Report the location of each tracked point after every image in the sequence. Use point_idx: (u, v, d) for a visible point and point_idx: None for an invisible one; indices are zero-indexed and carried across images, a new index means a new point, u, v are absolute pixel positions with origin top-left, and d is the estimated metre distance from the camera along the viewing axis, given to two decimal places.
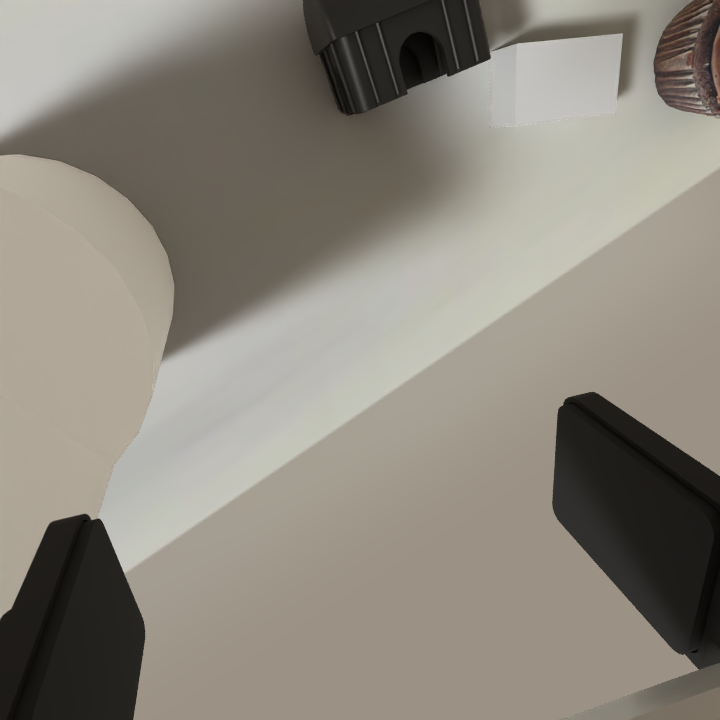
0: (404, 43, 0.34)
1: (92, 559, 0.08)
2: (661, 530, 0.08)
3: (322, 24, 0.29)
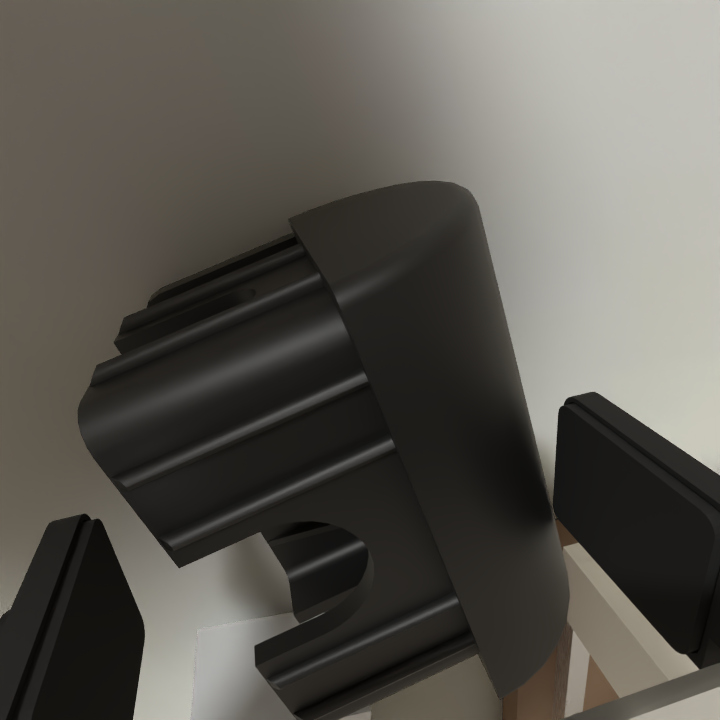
0: None
1: (92, 559, 0.08)
2: (662, 530, 0.08)
3: (383, 244, 0.07)
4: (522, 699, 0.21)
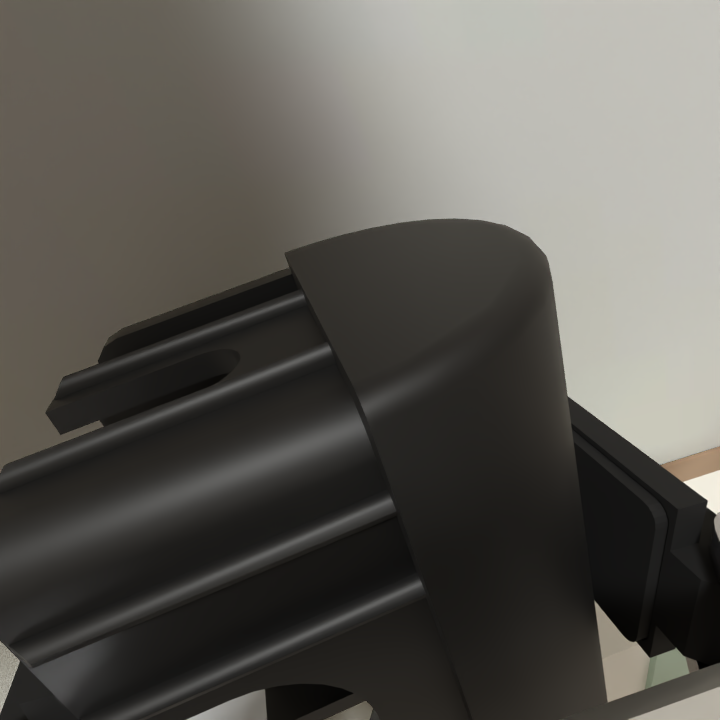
0: None
1: None
2: (611, 521, 0.09)
3: (428, 319, 0.05)
4: None
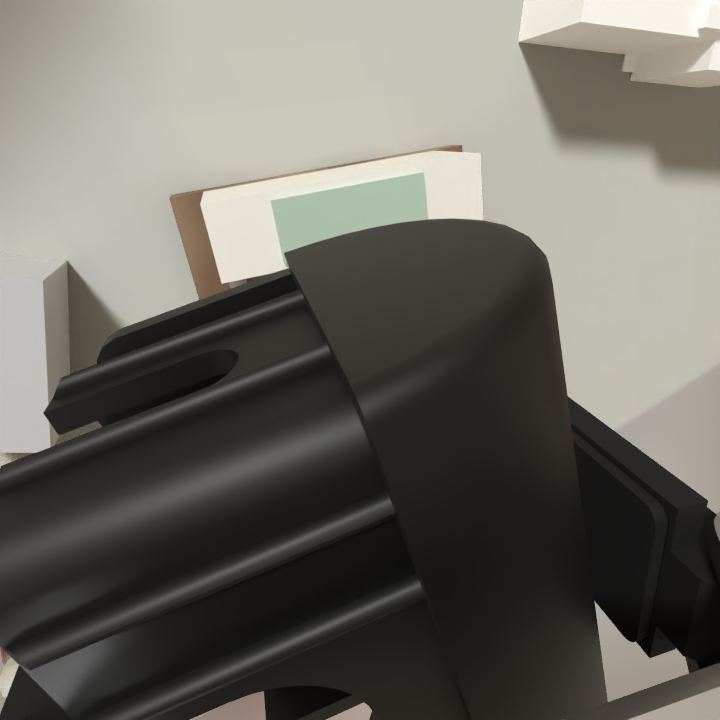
0: None
1: None
2: (611, 522, 0.09)
3: (428, 319, 0.05)
4: None
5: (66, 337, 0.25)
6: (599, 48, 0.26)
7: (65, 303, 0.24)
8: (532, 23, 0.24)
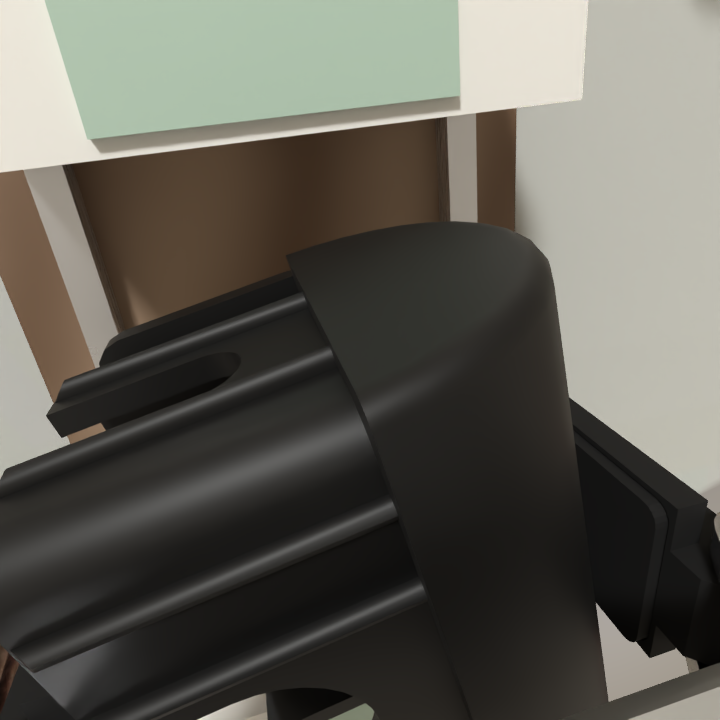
0: None
1: None
2: (611, 521, 0.09)
3: (430, 323, 0.05)
4: (46, 364, 0.14)
5: None
6: None
7: None
8: None
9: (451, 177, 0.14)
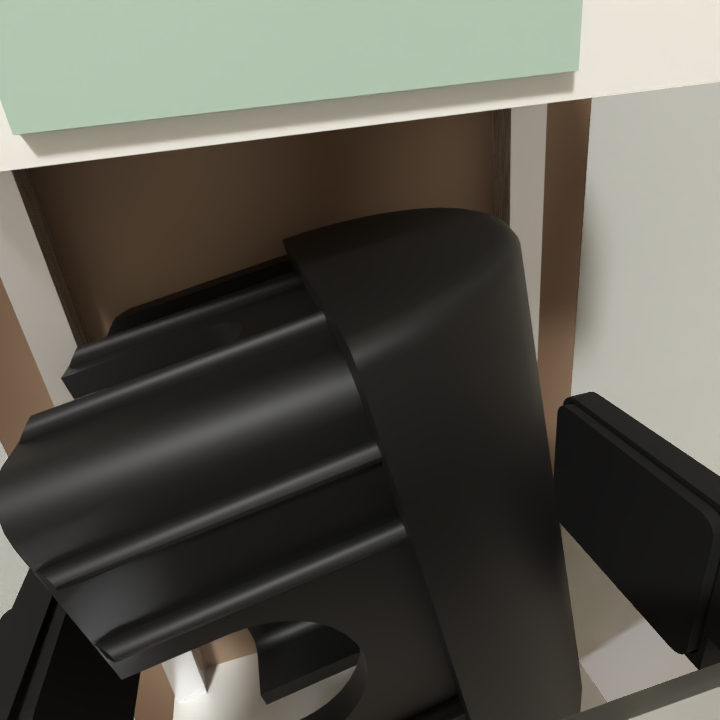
0: None
1: None
2: (660, 530, 0.08)
3: (411, 286, 0.06)
4: (2, 420, 0.11)
5: None
6: None
7: None
8: None
9: (513, 185, 0.11)
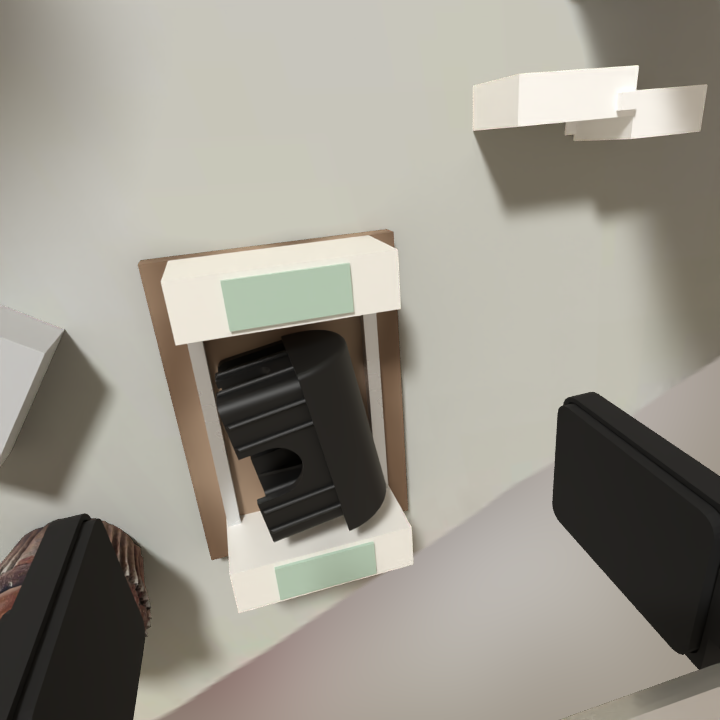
0: None
1: (92, 559, 0.08)
2: (661, 530, 0.08)
3: (313, 362, 0.25)
4: (175, 398, 0.30)
5: (37, 389, 0.28)
6: None
7: (48, 362, 0.28)
8: (481, 118, 0.29)
9: (364, 316, 0.30)
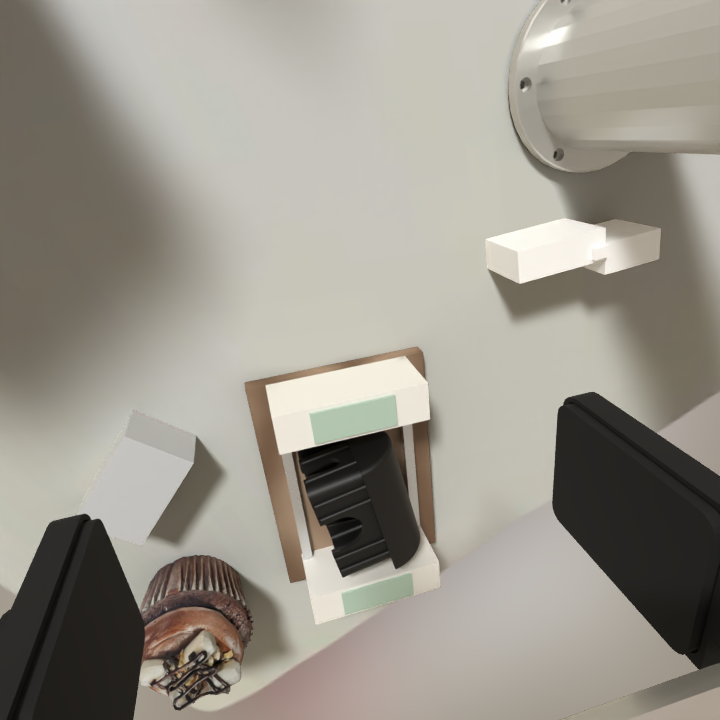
0: None
1: (92, 559, 0.08)
2: (661, 530, 0.08)
3: (370, 460, 0.36)
4: (267, 474, 0.42)
5: None
6: None
7: None
8: (493, 264, 0.39)
9: None
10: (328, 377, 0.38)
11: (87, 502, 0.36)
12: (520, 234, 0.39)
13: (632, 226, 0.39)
